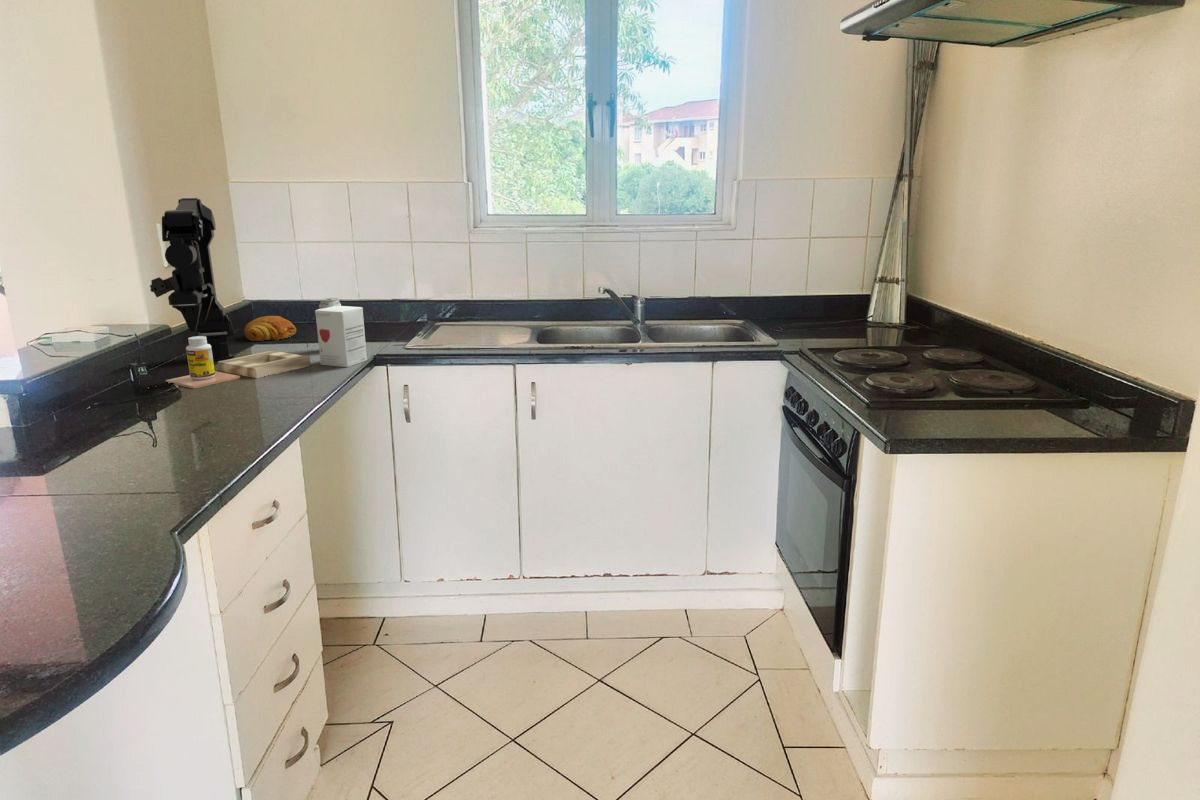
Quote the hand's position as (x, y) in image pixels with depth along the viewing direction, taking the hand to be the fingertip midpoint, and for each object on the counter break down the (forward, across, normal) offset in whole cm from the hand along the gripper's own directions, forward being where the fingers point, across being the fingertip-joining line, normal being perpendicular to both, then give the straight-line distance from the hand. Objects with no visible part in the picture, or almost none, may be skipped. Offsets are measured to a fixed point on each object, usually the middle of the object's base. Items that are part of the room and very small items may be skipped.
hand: (197, 328), depth 188 cm
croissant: (+14, -55, +8) cm, 58 cm away
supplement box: (+13, -10, +32) cm, 36 cm away
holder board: (+13, -9, +13) cm, 20 cm away
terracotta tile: (+13, +1, 0) cm, 13 cm away
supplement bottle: (+12, +1, 0) cm, 12 cm away
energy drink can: (+13, -28, +29) cm, 42 cm away
